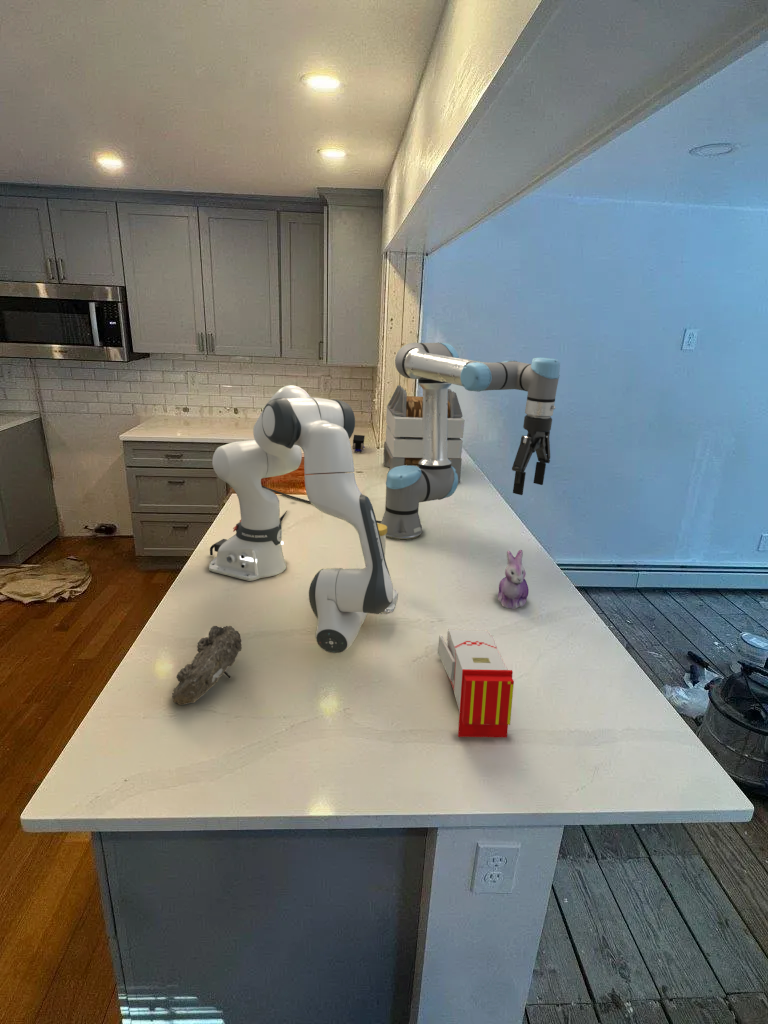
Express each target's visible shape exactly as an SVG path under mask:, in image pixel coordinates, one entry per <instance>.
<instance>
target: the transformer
mask: <svg viewBox="0 0 768 1024" xmlns="http://www.w3.org/2000/svg"><path fill="white" fill-rule="evenodd" d="M407 394H408V393H407V390H406V389H404V388H403V387H402V385H399V384H398V385H397V386H396V388H395V390H394V392H393V394H392V395H391V398H390V400H389V402H388V404H387V405H386V413H385V414H386V415H385V423H386V428H385V438H384V442H383V466H384V467H388V468H389V471H390V470H391V469H392V468H394V467H398V466H403V465H406V466H408V465H413V466H417V467H419V461H420V460H421V459H422V458H423V396H415V395H414V396H413V395H412V396H411V395H407ZM464 429H465V419H464V418H463V411H462V408H461V405H460V402H459V398H458V395H457V392H455V391H453V390H452V389H451V388H448V406H447V458H448V459H449V460H450V461H451V466H452V467H453V468H454V469H455V470H456V473H457V475H458V484H459V483H461V472H462V461H463V460H462V453H463V442H464V441H463V440H462V439H463V438H464V431H465V430H464Z"/></svg>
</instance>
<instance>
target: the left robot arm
mask: <svg viewBox="0 0 768 1024" xmlns="http://www.w3.org/2000/svg"><path fill="white" fill-rule="evenodd" d="M355 427H356V417H355V412H354V410H353V408H352V407H351V405H350V404H349V403H348V402H345V401H343V400H340V399H335V398H331V399H329V398H322V397H311V396H310V394H309V393H308V392H307V391H306V389H304V388H302V387H300V386H298V385H293V384H289V385H285V386H283V387H282V386H281V388H279V389H278V390H277V391H276V392H275V393H274V394H273V395H272V396H271V397H270V399H269V400H268V402H267V403H266V404H265V405H264V407H263V409H262V411H261V413H260V414H259V416H258V418H257V420H256V421H255V423H254V425H253V431H252V433H253V438H254V439H247V440H238V441H232V442H229V443H226V444H223V445H221V446H218V447H216V449H215V450H214V452H213V455H212V463H211V464H212V468H213V471H214V474H215V475H216V476H217V478H219V479H220V480H221V481H223V482H225V483H226V484H228V486H230V487H231V488H232V490H233V491H234V492H235V494H236V497H237V499H238V503H239V511H240V512H239V513H240V520H239V521H238V522H237V523H236V524H235V526H234V527H233V528H232V529H233V533H234V532H235V534H233V535H232V536H231V537H229V538H228V539H227V538H222V539H221V540H219V541H217V542H215V543H214V544H212V545H211V546H210V547H209V556H214V552H217V553H216V556H215V557H214V558H213V559H212V560H211V561H210V562H209V564H208V565H209V566H208V570H209V572H213V573H217V574H220V575H223V576H224V575H225V576H228V577H232V578H236V579H239V580H244V581H248V582H252V581H256V580H259V579H263V578H269V577H273V576H277V575H279V574H281V573H283V572H284V571H285V570H286V569H287V563H286V560H285V556H284V552H283V547H282V545H284V541H283V528H282V521H281V522H280V518H281V515H280V514H281V513H280V512H281V511H280V508H281V507H280V506H281V505H280V499H279V497H278V495H277V493H275V492H272V491H270V490H268V489H265V488H262V486H263V485H262V480H263V479H266V478H275V477H279V476H285V475H288V474H290V473H292V472H295V471H297V470H298V469H299V467H300V466H301V463H302V459H304V460H303V469H304V472H303V473H304V487H305V493H306V496H307V499H308V501H310V502H311V503H312V504H311V503H310V504H311V505H312V506H313V507H314V508H315V509H317V510H318V511H319V512H322V513H324V514H326V515H328V516H331V517H334V518H336V519H340V520H342V521H344V522H346V523H347V524H350V525H351V526H352V527H353V528H354V529H355V530H356V532H357V535H358V538H359V542H360V547H361V552H362V555H363V561H364V565H365V567H362V568H342V567H339V568H338V567H337V568H336V567H335V568H334V567H333V568H321V569H320V570H319V571H318V572H316V574H315V575H314V577H313V578H312V581H311V582H310V585H309V589H308V600H309V606H310V608H311V611H312V613H313V614H314V616H315V617H316V619H317V625H316V632H315V641H316V644H317V645H318V647H319V648H320V649H321V650H323V651H325V652H327V653H330V654H341V653H344V652H346V651H347V650H348V649H349V648H350V647H352V645H353V643H354V642H355V641H356V639H357V637H358V634H359V633H360V630H361V627H362V626H363V624H364V622H365V620H366V619H367V616H368V615H369V614H373V615H388V614H391V613H393V612H394V611H395V609H396V606H397V605H398V600H399V592H398V591H397V589H394V585H393V581H392V578H391V574H390V572H389V571H390V570H389V568H388V565H387V560H386V555H385V556H384V552H383V547H382V543H381V538H380V534H379V530H378V525H377V521H378V520H377V518H376V513H375V510H374V507H373V504H372V502H371V500H370V498H369V497H368V496H367V495H365V494H363V493H362V491H361V490H360V488H359V486H358V484H357V481H356V476H355V464H354V456H353V451H352V450H353V448H352V446H351V445H352V444H351V441H350V439H351V438H352V436H353V435H354V431H355ZM302 452H303V453H302ZM376 520H377V521H376Z"/></svg>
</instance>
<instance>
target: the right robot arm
mask: <svg viewBox="0 0 768 1024" xmlns="http://www.w3.org/2000/svg"><path fill="white" fill-rule="evenodd" d="M394 364H395V365H394V366H395V369H396V371H397V372H398V374H399V375H400V376H402V377H404V378H406V379H411V380H412V379H413V380H417V384H418V386H419V387H420V388H421V389H422V397H423V458H422V459H421V460H420V461H419V466H413V465H408V466H407V465H403V466H398V467H394V468H392V469H391V470H390V469H389V470H388V472H387V475H386V479H385V504H384V505H385V507H384V508H385V509H384V513H383V515H382V519H381V520H377V519H376V521H377V523H378V524H384V525H386V526H387V533H386V539H389V540H395V541H410V540H415V539H418V538H420V537H421V536H422V535H423V525H422V524H421V518H420V515H419V507H420V506H419V505H420V503H426V502H431V501H437V500H439V501H441V500H444V499H446V498H450V497H451V496H453V494H454V493H455V492H456V491H457V488H458V486H459V485H458V484H459V483H458V475H457V473H456V470H455V469H454V468H453V467H452V466H451V461H450V460H449V459H448V458H447V406H448V389H449V388H450V386H452V385H456V386H459V387H463V388H464V389H465V390H466V391H469V392H477V393H478V392H486V391H504V390H505V391H506V390H518V391H523V392H527V395H526V401H525V402H526V403H525V409H524V413H525V416H524V419H523V425H522V428H523V430H525V431H526V432H527V435H521V437H520V442H519V446H518V449H517V451H516V455H515V458H514V461H513V464H512V467H511V471H513V472H515V473H514V480H513V487H512V494H515V495H519V496H523V494H524V488H525V481H526V475H527V472H526V469H527V467H528V465H529V462H530V461H531V458H532V456H533V454H534V453H535V454H536V457H537V461H536V463H535V469H534V477H533V483H532V484H534V485H535V484H536V485H541V486H543V485H544V479H545V473H546V468H547V467H546V466H547V464H550V462H551V460H550V459H551V444H550V443H551V442H550V436H551V435H550V433H551V430H552V424H553V418H552V417H553V416H554V410H555V409H556V405H555V403H556V396H557V390H558V386H559V385H558V384H559V380H560V377H561V375H560V371H561V362H560V360H559V359H557V358H551V357H550V358H549V357H534V358H532V361H531V363H526V362H521V361H517V360H503V361H501V362H500V361H497V362H489V361H487V362H486V361H485V362H484V361H479V360H472V359H467V358H460V356H459V353H458V351H457V349H455V347H454V346H453V345H451V344H450V343H445V342H438V341H437V342H410V343H406V344H404V345H403V346H402V347H401V348H399V349H398V351H397V352H396V355H395V359H394ZM262 488H265V489H268V490H270V491H272V492H274V493H275V494H278V495H281V496H284V497H288V498H290V499H294V500H296V501H301V502H304V503H307V504H311V505H313V504H312V503H311V502H310V501H309V499H308V500H307V499H304V498H301V497H297V496H293V495H290V494H287V493H284V492H281V491H278V490H275V489H273V488H270V487H267V486H265V485H262Z"/></svg>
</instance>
